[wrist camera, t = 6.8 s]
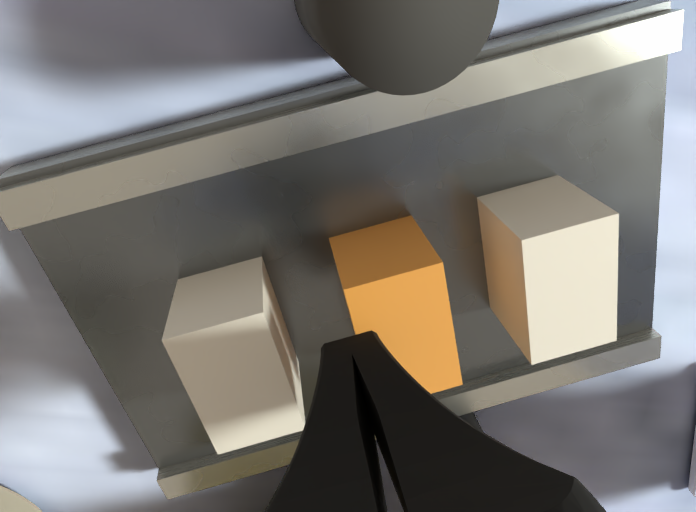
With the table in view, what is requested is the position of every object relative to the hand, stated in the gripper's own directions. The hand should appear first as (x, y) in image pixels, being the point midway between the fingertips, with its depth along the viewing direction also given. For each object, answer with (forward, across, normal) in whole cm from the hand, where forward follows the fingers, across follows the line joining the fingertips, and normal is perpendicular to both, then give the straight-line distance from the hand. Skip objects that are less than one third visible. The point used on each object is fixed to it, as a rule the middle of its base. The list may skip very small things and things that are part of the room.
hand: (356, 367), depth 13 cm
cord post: (+5, -2, -8) cm, 10 cm away
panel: (+5, -2, 0) cm, 5 cm away
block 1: (+3, +3, 0) cm, 5 cm away
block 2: (+3, -2, 0) cm, 4 cm away
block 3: (+3, -6, 0) cm, 7 cm away
